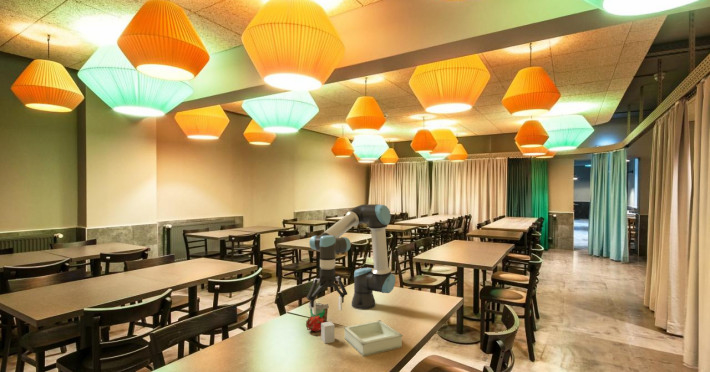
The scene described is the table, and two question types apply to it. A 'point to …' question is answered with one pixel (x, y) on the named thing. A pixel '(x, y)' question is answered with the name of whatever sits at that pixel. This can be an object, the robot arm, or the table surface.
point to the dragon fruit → (314, 323)
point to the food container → (320, 310)
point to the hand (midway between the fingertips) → (327, 311)
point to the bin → (373, 337)
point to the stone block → (327, 332)
